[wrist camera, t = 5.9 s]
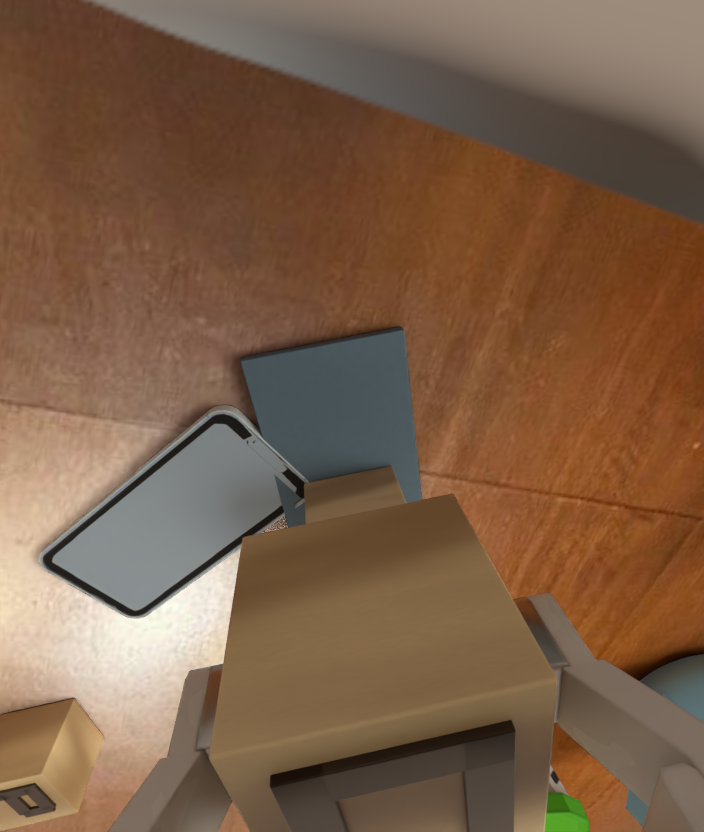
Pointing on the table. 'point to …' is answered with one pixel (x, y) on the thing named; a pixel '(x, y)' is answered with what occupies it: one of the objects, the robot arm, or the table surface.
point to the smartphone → (175, 515)
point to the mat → (337, 410)
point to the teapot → (686, 687)
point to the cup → (563, 809)
